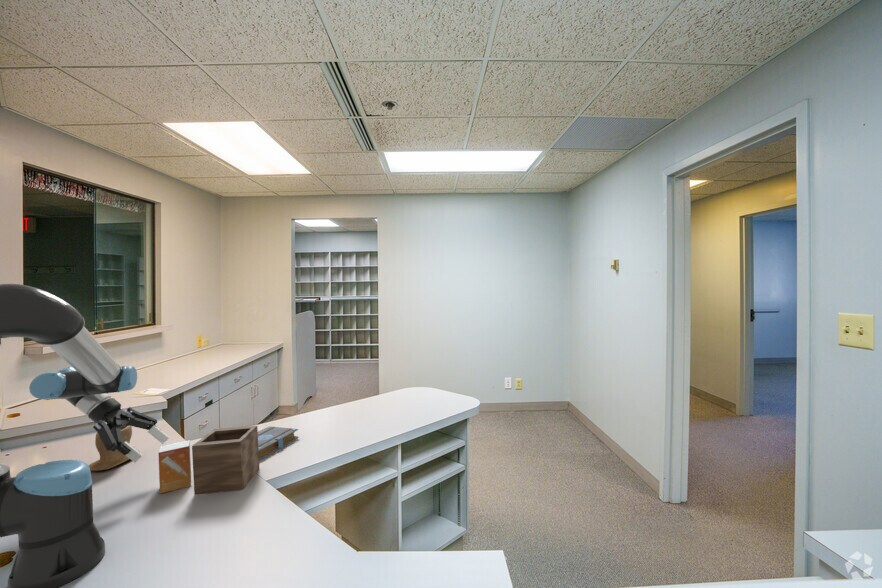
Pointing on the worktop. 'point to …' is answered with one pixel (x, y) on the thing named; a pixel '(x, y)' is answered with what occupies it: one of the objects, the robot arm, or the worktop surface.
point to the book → (274, 439)
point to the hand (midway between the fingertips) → (153, 449)
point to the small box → (174, 466)
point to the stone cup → (110, 452)
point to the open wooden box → (225, 459)
